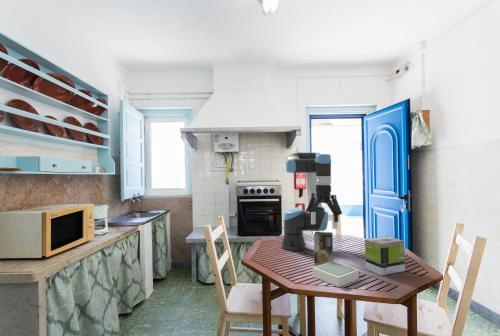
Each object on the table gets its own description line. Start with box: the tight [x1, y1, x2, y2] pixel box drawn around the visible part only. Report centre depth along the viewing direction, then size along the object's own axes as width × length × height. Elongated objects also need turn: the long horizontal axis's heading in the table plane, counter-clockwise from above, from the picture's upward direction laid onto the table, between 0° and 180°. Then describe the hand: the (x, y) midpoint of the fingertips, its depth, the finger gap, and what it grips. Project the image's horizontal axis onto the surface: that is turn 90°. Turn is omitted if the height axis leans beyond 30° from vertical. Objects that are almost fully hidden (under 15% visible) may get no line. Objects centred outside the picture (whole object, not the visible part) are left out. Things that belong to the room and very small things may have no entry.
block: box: [312, 260, 360, 288], centre depth 123 cm, size 14×14×4 cm
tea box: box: [364, 236, 406, 276], centre depth 132 cm, size 15×10×15 cm
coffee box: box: [313, 231, 334, 267], centre depth 140 cm, size 9×6×16 cm
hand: (323, 226), depth 139 cm, fingers open, 13 cm apart
